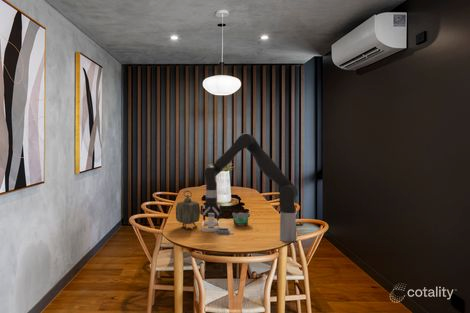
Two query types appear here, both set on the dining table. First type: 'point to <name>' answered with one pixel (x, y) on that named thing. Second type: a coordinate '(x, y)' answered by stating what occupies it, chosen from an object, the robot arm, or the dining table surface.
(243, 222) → the food container
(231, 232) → the fuse block
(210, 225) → the fuse
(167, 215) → the dining table surface
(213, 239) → the dining table surface
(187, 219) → the tabletop clock
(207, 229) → the parts tray
